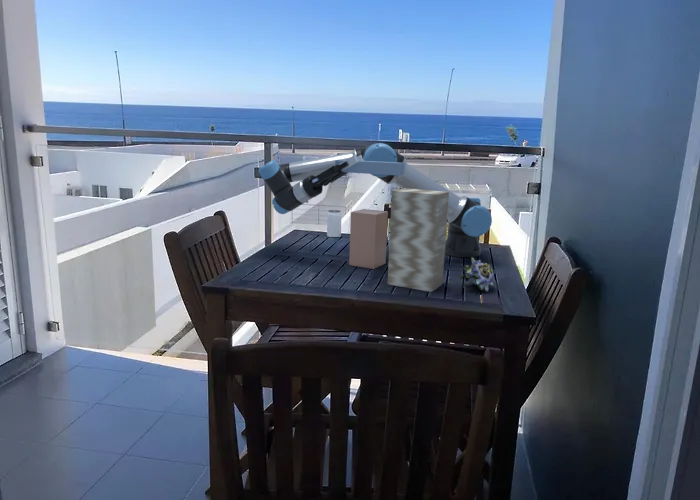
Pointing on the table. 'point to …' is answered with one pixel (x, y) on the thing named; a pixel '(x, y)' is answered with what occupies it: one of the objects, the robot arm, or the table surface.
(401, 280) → the stand
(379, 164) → the bar
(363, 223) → the block
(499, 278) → the table surface
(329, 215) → the can
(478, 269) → the passion flower
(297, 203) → the robot arm
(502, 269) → the table surface
